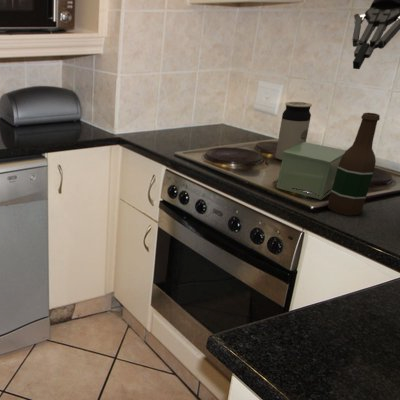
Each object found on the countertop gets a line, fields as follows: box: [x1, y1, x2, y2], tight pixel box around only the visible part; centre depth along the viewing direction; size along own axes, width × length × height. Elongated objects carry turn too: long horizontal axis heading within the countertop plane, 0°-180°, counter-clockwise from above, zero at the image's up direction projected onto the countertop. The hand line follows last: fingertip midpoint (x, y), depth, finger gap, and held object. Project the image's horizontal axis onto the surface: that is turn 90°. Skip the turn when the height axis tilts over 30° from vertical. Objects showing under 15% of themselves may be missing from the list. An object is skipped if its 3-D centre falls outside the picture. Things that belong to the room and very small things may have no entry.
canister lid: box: [283, 141, 347, 165], centre depth 128 cm, size 14×12×1 cm
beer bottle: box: [327, 112, 381, 217], centre depth 114 cm, size 8×8×24 cm
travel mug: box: [275, 101, 313, 161], centre depth 153 cm, size 8×8×18 cm
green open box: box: [275, 155, 341, 201], centre depth 130 cm, size 14×12×10 cm
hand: (356, 65), depth 127 cm, fingers closed
